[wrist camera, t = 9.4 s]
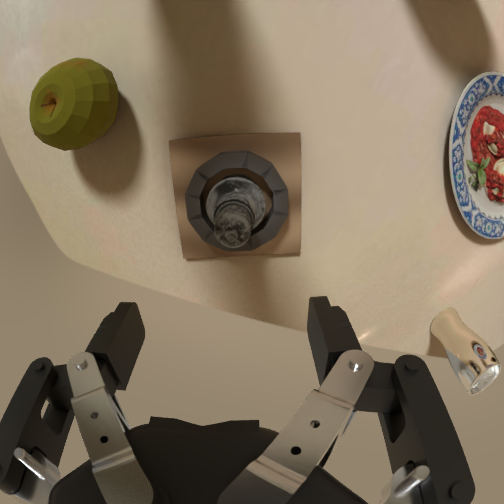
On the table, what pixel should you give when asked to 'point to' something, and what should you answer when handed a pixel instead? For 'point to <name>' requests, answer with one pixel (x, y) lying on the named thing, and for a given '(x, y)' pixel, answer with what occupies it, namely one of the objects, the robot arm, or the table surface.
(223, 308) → the table surface
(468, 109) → the ceramic plate
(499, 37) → the table surface
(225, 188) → the chess piece
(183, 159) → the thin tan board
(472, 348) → the beer glass
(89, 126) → the apple
